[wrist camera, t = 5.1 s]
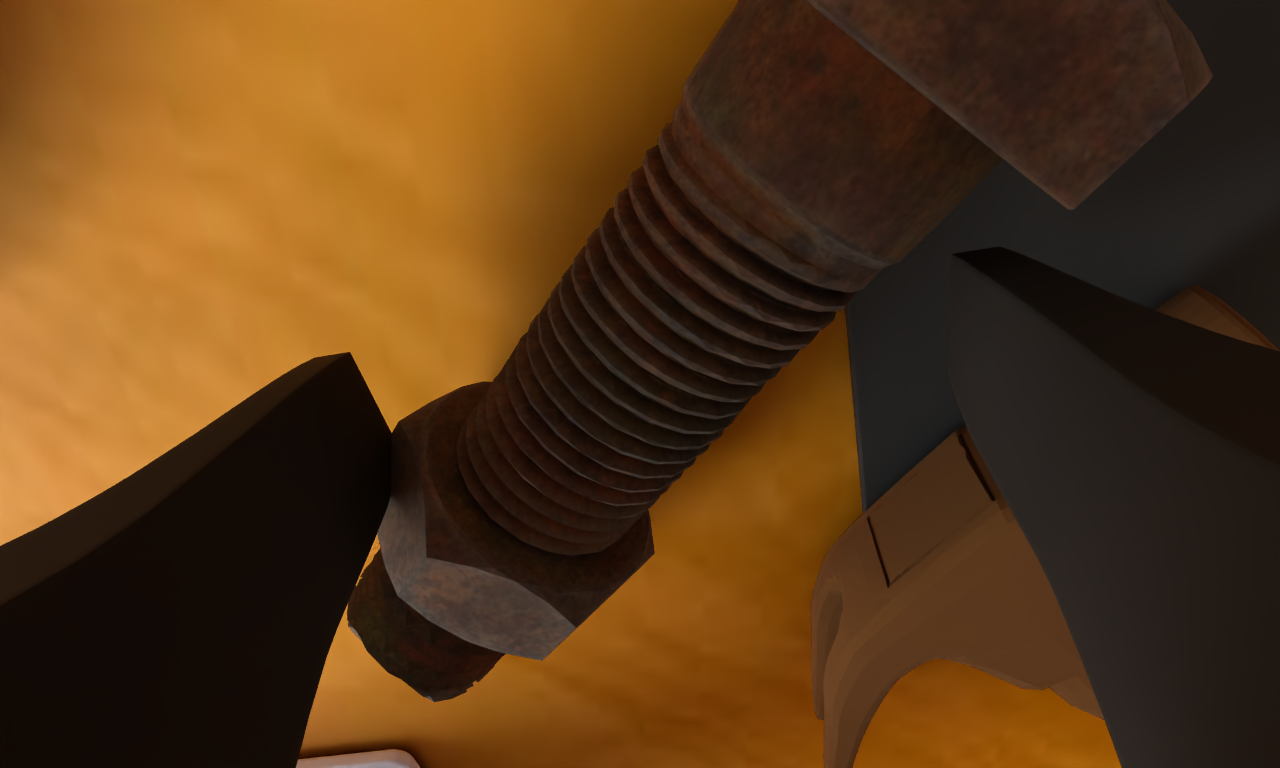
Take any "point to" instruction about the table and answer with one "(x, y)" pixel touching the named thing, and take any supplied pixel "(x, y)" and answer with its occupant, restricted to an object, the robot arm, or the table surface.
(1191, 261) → the mat
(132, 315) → the table surface
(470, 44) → the table surface
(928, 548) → the hammer
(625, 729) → the table surface
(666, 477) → the bolt
